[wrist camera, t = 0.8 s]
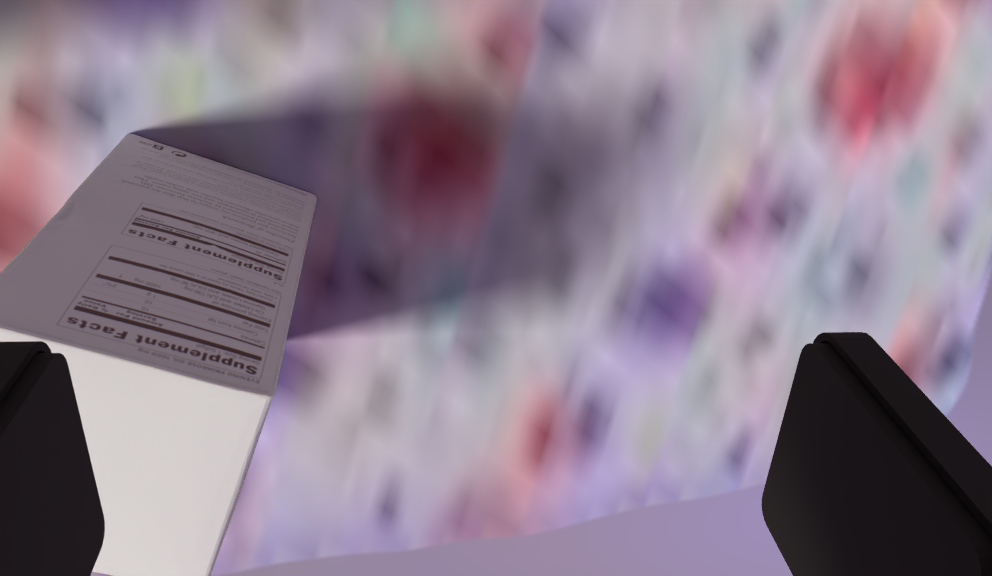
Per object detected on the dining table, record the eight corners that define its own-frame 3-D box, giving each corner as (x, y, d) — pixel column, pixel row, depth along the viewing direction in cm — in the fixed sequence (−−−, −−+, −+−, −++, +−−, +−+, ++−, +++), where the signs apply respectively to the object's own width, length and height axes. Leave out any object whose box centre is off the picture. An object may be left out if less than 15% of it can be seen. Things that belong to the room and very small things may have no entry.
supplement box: (269, 347, 44) (205, 605, 30) (87, 298, 42) (-81, 552, 27) (322, 190, 40) (278, 397, 26) (125, 125, 38) (-48, 313, 23)
